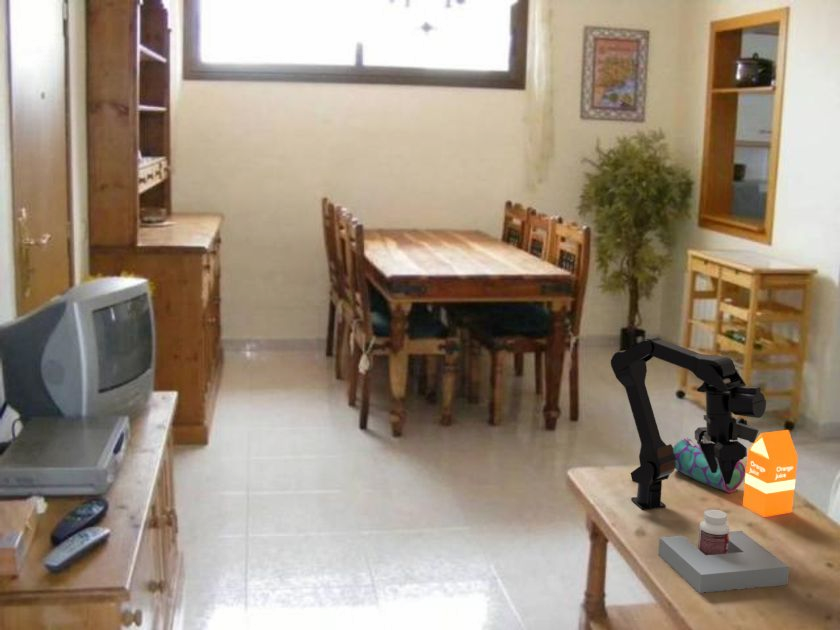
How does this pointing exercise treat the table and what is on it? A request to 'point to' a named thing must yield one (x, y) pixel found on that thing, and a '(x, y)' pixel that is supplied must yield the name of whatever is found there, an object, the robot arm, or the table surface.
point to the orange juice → (770, 474)
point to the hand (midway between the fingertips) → (720, 478)
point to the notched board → (724, 564)
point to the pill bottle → (714, 533)
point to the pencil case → (704, 467)
